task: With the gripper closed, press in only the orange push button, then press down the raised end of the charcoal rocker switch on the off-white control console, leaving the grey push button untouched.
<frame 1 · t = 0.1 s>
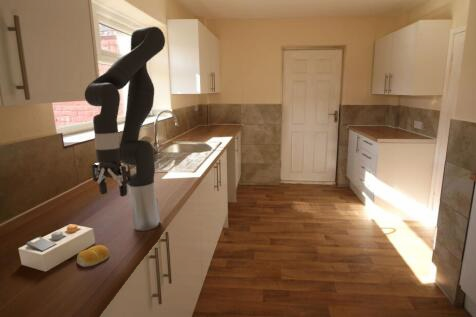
hand: (113, 194, 103), 17 cm above the table, tool pointing down, fingers open, 8 cm apart
bread roll: (93, 260, 96), on the table
grey button: (57, 237, 100), point 6 cm above the table, slide at 0.0 cm
orange button: (72, 229, 104), point 6 cm above the table, slide at 0.0 cm
rocker: (41, 244, 95), point 6 cm above the table, hinge at -12.0°
console: (60, 253, 101), on the table
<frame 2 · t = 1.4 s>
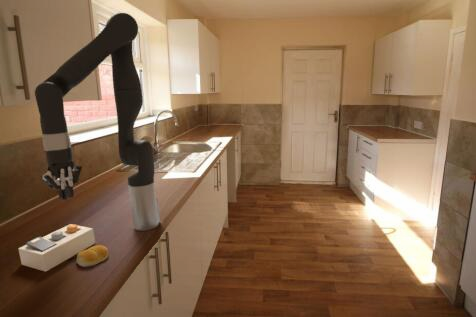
hand: (67, 198, 102), 17 cm above the table, tool pointing down, fingers closed
nothing on the table moved.
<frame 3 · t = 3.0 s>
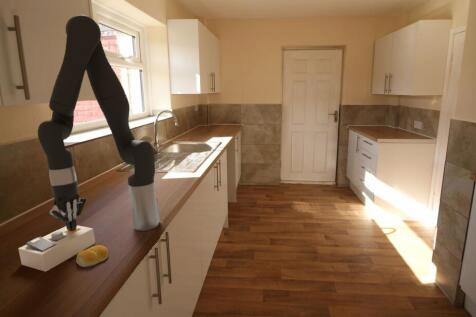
hand: (72, 230, 104), 6 cm above the table, tool pointing down, fingers closed
orange button: (73, 233, 105), point 5 cm above the table, slide at 1.2 cm, touching gripper
everything else where it was.
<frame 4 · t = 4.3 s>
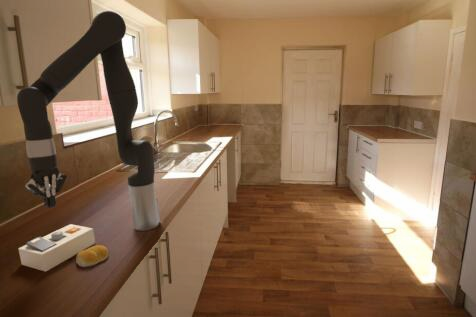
hand: (50, 207, 98), 16 cm above the table, tool pointing down, fingers closed
orange button: (73, 233, 105), point 5 cm above the table, slide at 1.3 cm
everything else where it was.
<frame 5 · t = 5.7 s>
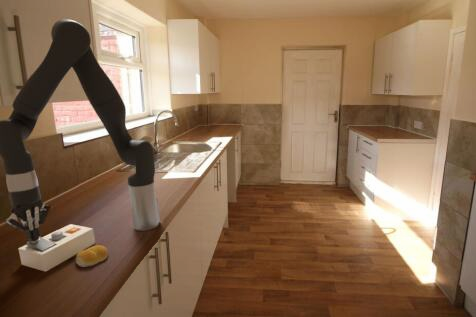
hand: (34, 240, 95), 7 cm above the table, tool pointing down, fingers closed
rocker: (41, 244, 95), point 6 cm above the table, hinge at -12.0°, touching gripper
everything else where it was.
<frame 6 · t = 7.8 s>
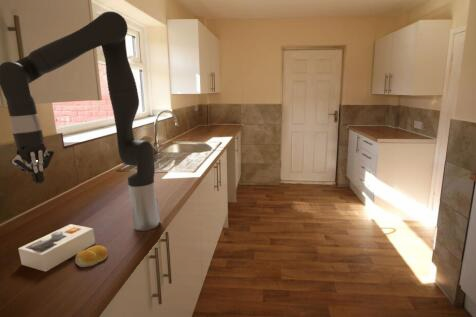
hand: (39, 183, 99), 23 cm above the table, tool pointing down, fingers closed
rocker: (41, 244, 95), point 6 cm above the table, hinge at 19.0°
everything else where it was.
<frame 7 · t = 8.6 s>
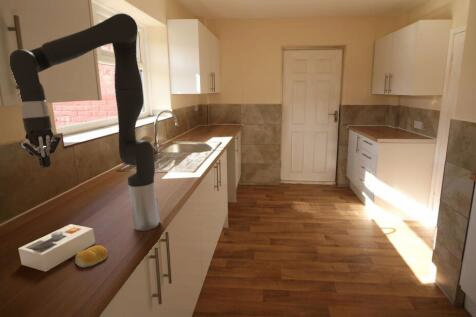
hand: (45, 167, 104), 27 cm above the table, tool pointing down, fingers closed
rocker: (41, 244, 95), point 6 cm above the table, hinge at 23.5°
everything else where it was.
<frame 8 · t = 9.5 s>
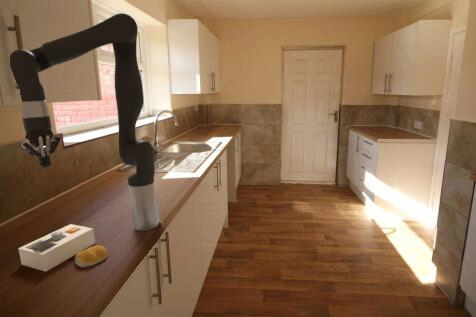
hand: (45, 167, 104), 27 cm above the table, tool pointing down, fingers closed
rocker: (40, 244, 95), point 6 cm above the table, hinge at 26.7°
everything else where it was.
at the end: orange button slide at 1.3 cm; rocker at +27° (first picture: -12°); grey button slide at 0.0 cm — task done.
